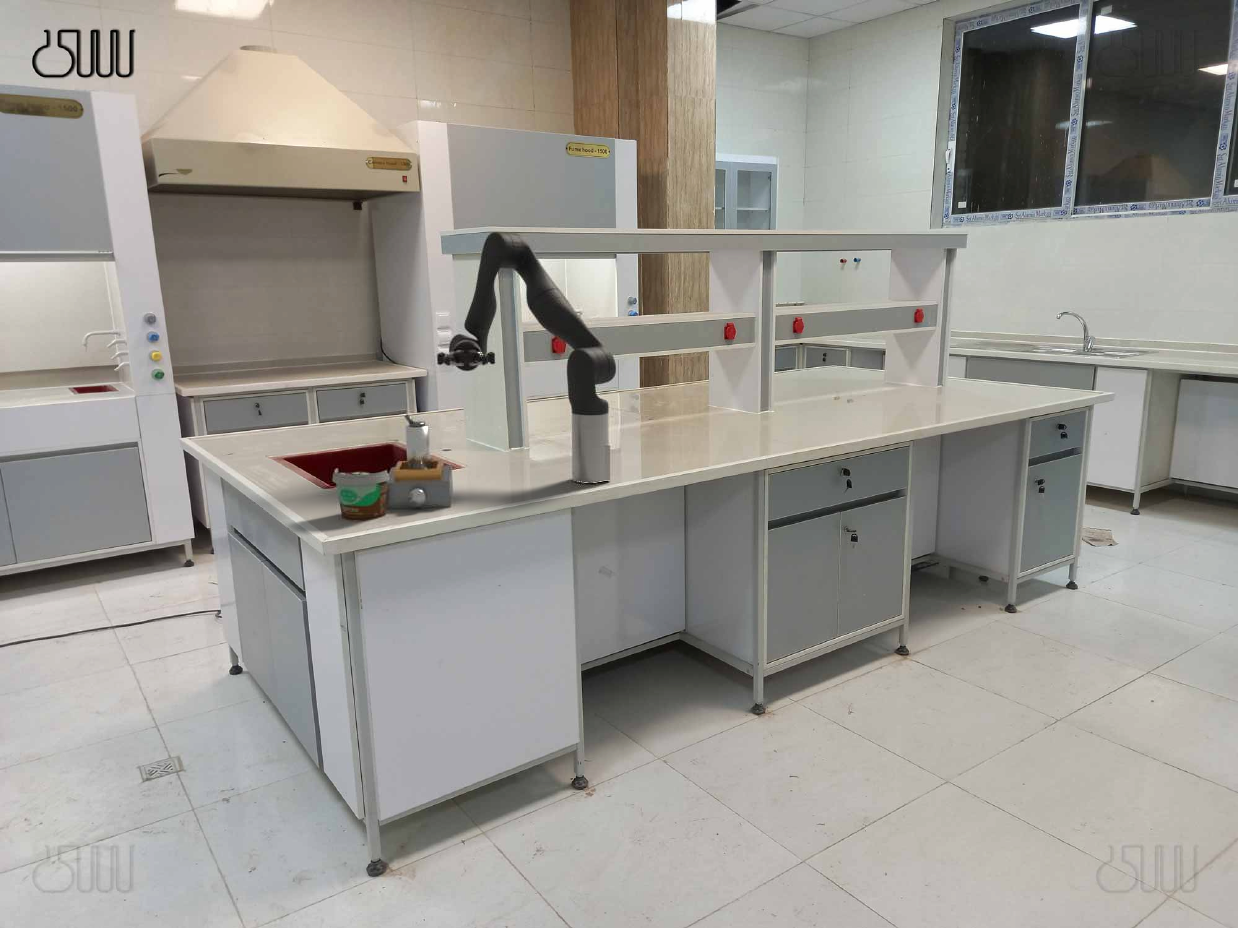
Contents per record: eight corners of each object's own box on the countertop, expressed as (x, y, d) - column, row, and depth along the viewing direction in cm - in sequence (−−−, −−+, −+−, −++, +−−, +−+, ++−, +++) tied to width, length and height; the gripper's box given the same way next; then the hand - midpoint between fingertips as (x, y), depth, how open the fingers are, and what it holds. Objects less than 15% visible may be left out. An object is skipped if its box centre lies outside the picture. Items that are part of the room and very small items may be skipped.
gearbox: (452, 489, 206) (451, 457, 204) (449, 510, 188) (448, 475, 186) (393, 491, 204) (391, 459, 202) (384, 513, 186) (382, 477, 184)
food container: (324, 520, 180) (320, 474, 178) (338, 512, 186) (335, 467, 184) (379, 523, 178) (376, 476, 176) (391, 515, 184) (389, 470, 182)
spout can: (431, 470, 199) (429, 411, 196) (430, 475, 194) (427, 415, 191) (408, 471, 198) (405, 412, 195) (406, 476, 193) (402, 415, 190)
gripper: (438, 341, 223) (435, 345, 207) (494, 340, 225) (494, 345, 209) (440, 369, 224) (436, 376, 209) (494, 369, 226) (495, 376, 211)
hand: (465, 361), depth 209 cm, fingers open, 8 cm apart
